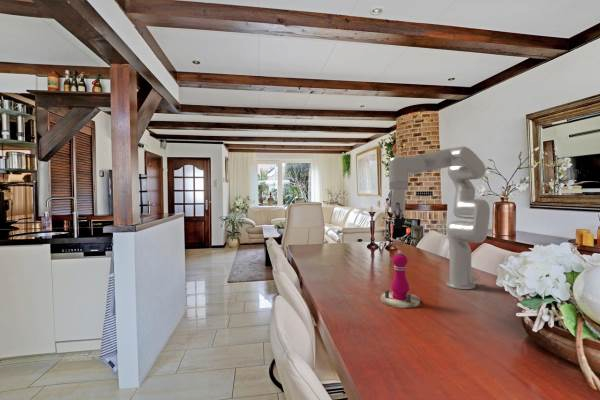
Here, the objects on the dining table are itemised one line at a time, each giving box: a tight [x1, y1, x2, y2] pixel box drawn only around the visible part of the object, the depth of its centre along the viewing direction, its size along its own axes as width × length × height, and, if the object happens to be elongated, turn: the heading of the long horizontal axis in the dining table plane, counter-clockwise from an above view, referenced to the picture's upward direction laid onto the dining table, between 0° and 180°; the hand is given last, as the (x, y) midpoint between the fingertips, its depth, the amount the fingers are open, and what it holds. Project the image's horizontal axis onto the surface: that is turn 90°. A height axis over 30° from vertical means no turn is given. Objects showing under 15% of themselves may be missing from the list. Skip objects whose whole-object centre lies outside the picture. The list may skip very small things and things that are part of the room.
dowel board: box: [379, 289, 421, 309], centre depth 135 cm, size 16×16×4 cm
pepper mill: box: [390, 250, 410, 300], centre depth 135 cm, size 7×7×20 cm
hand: (399, 227), depth 135 cm, fingers open, 9 cm apart
